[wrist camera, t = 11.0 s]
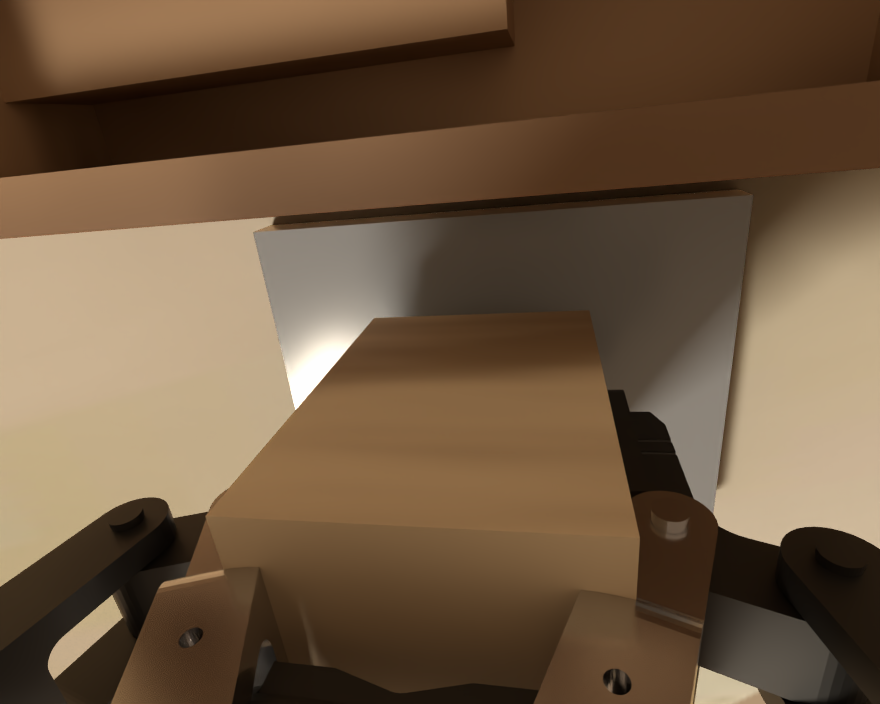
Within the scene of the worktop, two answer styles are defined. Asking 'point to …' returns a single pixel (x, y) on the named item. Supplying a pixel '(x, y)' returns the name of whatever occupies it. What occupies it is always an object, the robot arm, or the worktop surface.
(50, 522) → the worktop surface
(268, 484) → the maple block
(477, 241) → the plate
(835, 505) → the worktop surface
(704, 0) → the walnut crate
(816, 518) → the worktop surface
